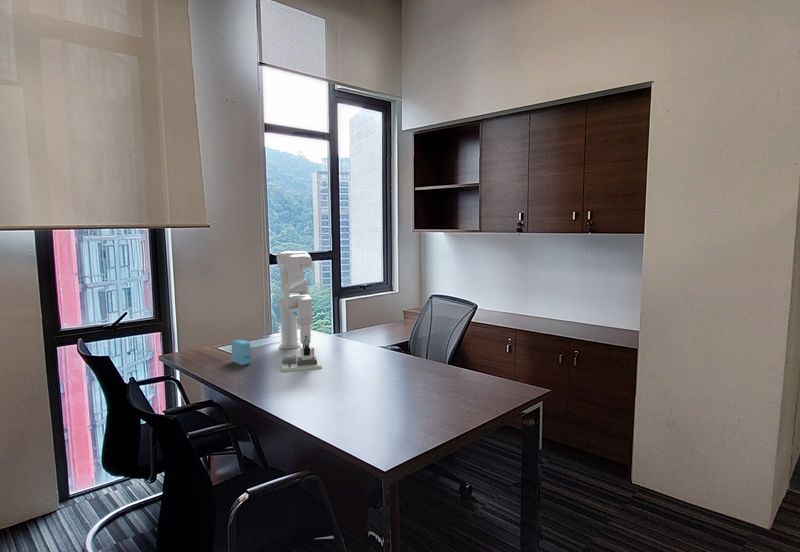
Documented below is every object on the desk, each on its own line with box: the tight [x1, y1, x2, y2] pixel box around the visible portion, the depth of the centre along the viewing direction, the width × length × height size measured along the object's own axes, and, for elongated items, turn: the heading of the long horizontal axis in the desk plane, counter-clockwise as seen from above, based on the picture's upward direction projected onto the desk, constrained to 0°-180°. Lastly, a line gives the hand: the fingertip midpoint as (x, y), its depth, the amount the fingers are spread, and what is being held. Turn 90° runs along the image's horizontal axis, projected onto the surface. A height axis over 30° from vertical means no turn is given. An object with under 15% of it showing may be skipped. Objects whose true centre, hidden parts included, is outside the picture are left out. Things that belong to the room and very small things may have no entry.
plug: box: [299, 346, 315, 360], centre depth 252 cm, size 4×7×8 cm, turn 104°
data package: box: [230, 338, 252, 366], centre depth 259 cm, size 12×4×12 cm, turn 48°
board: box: [281, 354, 323, 373], centre depth 252 cm, size 16×20×5 cm
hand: (306, 352), depth 252 cm, fingers open, 9 cm apart
